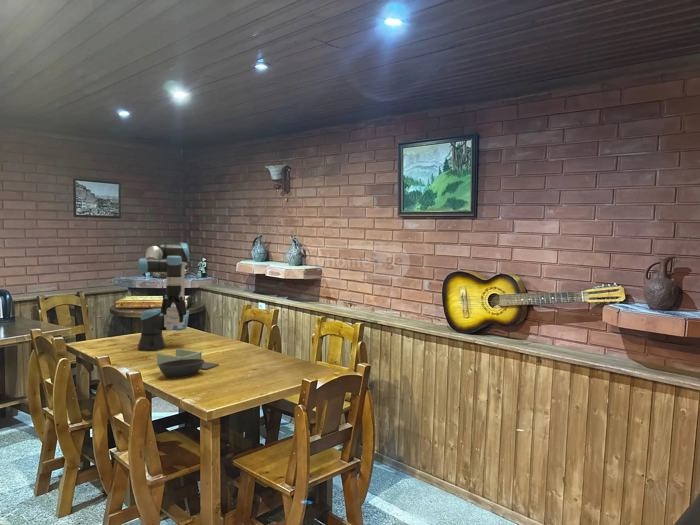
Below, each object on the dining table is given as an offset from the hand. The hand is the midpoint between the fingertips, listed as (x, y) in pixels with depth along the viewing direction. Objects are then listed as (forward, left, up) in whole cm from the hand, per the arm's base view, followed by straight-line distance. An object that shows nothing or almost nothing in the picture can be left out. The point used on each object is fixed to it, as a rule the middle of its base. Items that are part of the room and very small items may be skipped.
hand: (173, 327), depth 264 cm
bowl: (+20, -15, -19) cm, 32 cm away
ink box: (0, +2, -2) cm, 2 cm away
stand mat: (+19, +3, -19) cm, 27 cm away
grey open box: (+4, 0, -19) cm, 20 cm away
